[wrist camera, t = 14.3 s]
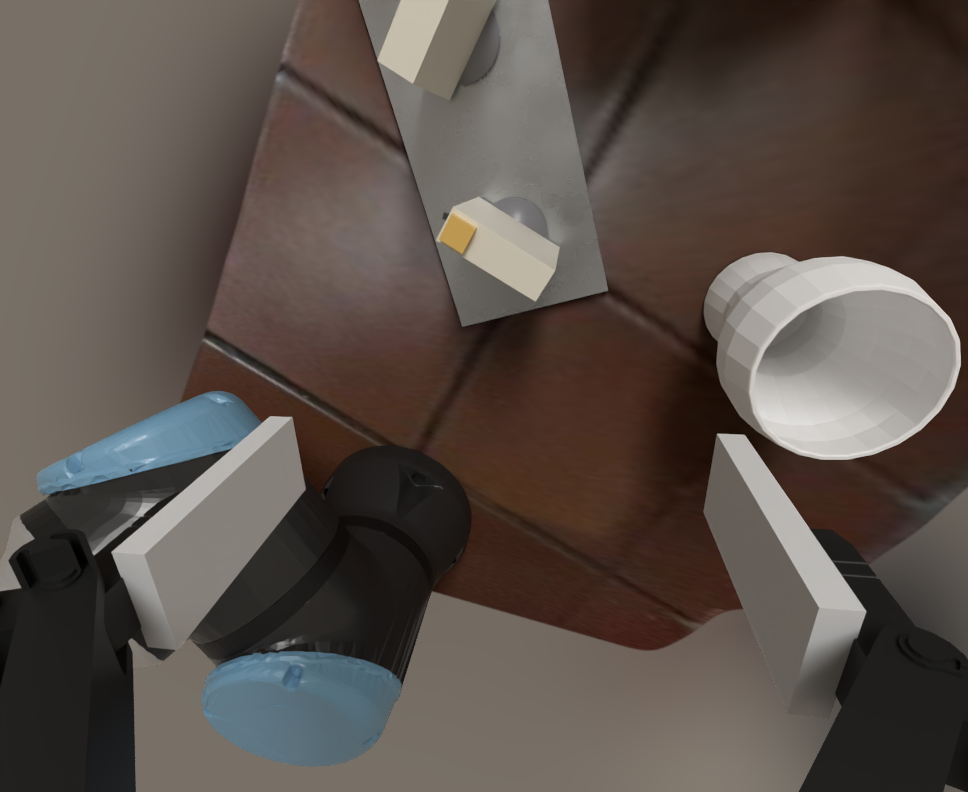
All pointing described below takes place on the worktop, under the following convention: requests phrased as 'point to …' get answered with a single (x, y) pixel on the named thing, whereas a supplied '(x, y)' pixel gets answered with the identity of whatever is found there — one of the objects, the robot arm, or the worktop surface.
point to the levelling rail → (500, 155)
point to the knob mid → (442, 43)
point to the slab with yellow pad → (503, 242)
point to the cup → (830, 352)
